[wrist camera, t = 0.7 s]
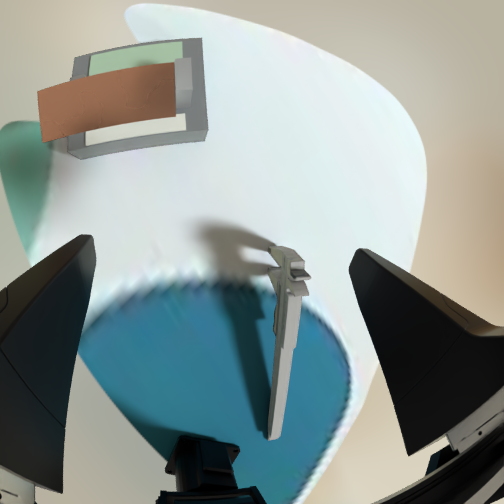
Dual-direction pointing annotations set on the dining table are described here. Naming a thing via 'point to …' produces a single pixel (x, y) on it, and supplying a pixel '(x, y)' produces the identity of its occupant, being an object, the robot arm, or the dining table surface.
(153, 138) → the breaker housing
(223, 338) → the dining table surface
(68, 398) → the robot arm
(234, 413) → the dining table surface
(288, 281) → the caliper
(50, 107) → the toggle lever
